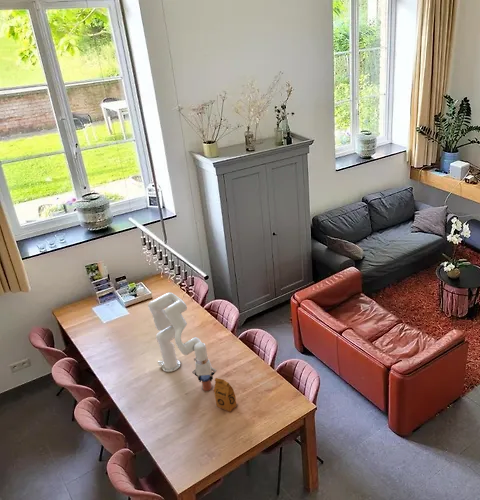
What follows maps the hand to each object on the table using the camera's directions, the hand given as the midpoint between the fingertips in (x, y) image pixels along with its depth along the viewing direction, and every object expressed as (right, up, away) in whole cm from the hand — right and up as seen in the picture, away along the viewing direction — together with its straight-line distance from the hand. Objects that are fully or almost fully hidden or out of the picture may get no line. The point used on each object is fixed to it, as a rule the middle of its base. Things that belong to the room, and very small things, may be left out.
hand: (205, 380), depth 356 cm
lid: (0, +2, -1) cm, 3 cm away
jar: (0, -6, +3) cm, 7 cm away
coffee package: (+17, -14, -12) cm, 25 cm away
